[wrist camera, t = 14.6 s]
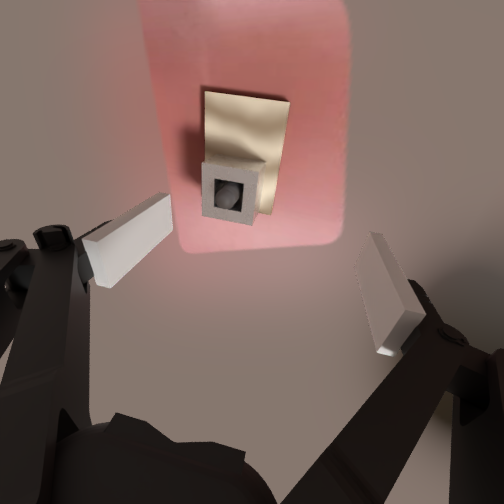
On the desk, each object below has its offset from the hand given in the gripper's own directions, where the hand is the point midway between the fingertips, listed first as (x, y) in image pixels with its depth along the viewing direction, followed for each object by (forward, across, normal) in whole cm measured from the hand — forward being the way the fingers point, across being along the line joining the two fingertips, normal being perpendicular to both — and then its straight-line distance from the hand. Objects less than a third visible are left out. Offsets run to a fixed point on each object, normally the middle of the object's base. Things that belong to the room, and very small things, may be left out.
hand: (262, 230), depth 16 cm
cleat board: (+29, -8, -2) cm, 30 cm away
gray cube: (+27, -8, -6) cm, 29 cm away
